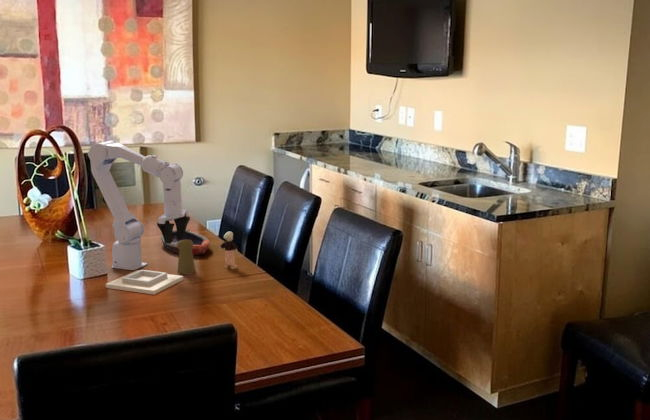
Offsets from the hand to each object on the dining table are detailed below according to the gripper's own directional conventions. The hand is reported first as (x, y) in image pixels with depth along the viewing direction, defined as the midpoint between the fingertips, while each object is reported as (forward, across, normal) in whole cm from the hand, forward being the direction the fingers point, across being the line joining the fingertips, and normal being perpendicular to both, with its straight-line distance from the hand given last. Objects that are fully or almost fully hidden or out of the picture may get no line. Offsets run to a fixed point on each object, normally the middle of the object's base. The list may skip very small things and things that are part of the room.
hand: (174, 240), depth 229 cm
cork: (+11, 0, -4) cm, 11 cm away
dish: (+11, +26, +13) cm, 31 cm away
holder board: (+10, -16, +1) cm, 19 cm away
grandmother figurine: (+11, +10, -15) cm, 21 cm away
